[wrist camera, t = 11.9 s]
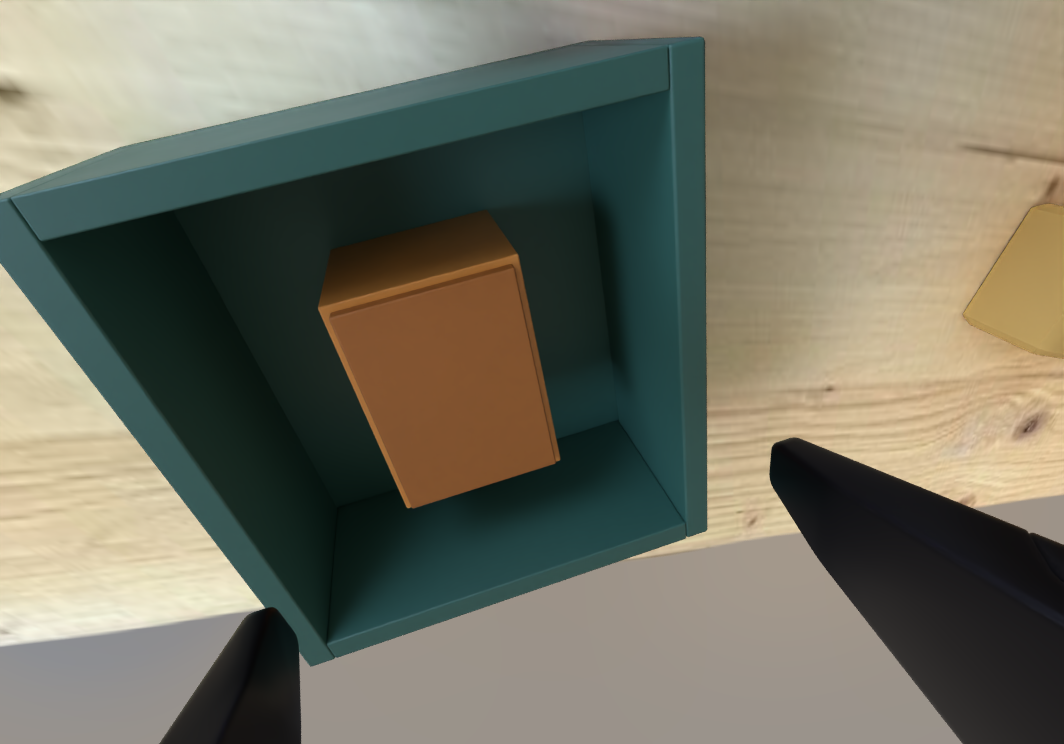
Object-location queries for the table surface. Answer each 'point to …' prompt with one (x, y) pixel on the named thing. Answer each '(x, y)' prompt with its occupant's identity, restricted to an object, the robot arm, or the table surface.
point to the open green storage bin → (313, 362)
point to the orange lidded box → (442, 355)
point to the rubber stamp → (1027, 287)
